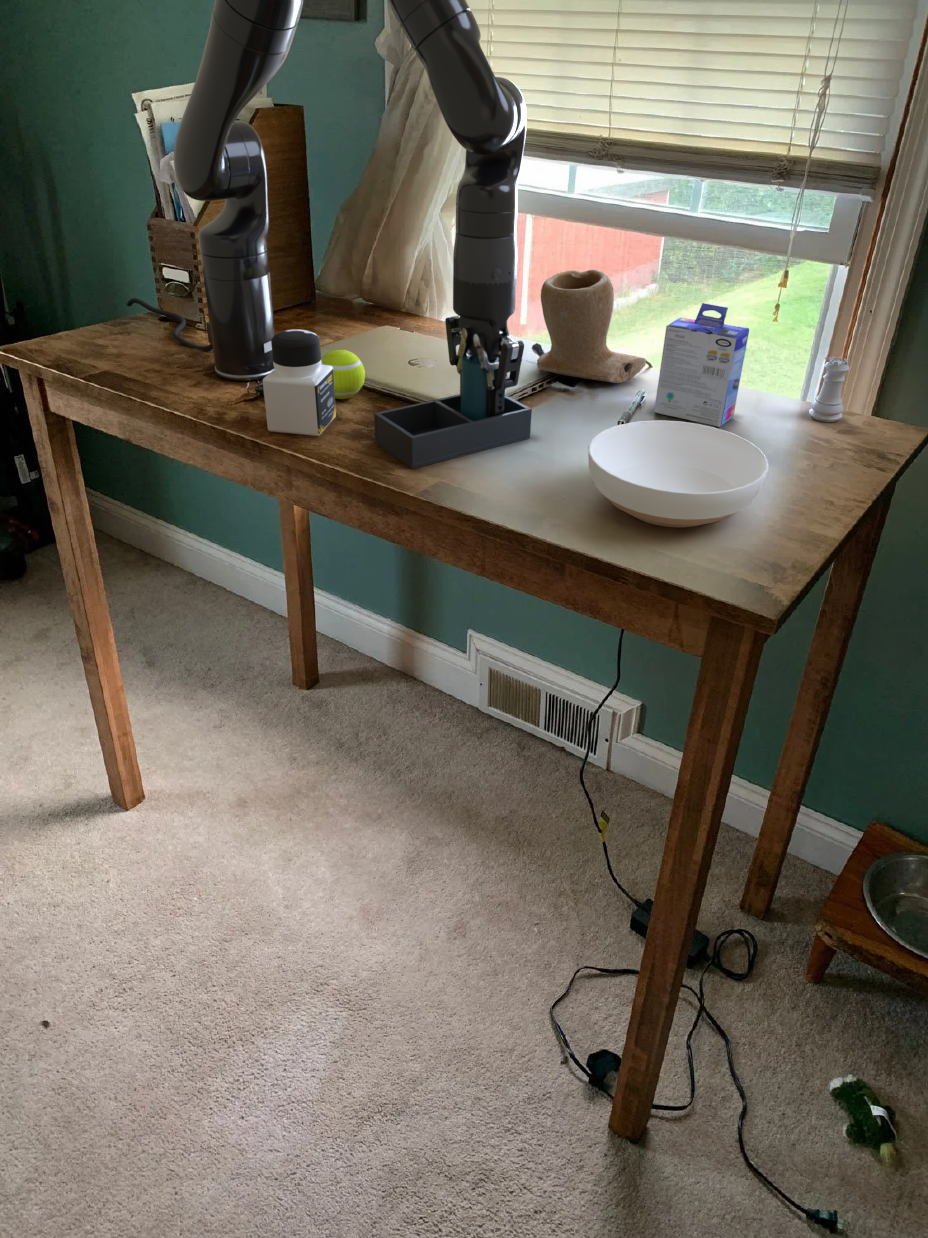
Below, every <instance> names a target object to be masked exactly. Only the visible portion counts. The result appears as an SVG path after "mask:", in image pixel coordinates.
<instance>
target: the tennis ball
mask: <svg viewBox="0 0 928 1238" xmlns="http://www.w3.org/2000/svg"><path fill="white" fill-rule="evenodd" d="M321 365H330V366H332V367H333V376H334V392H335V400H346V399H350V398H352V397H354V396H356V394H358V393H359V392H360V390H361V389H362V388H363V385H364V384H365V380H366V371H365V367H364V363H362V361H361V359H360V358H359V357H358V355H356V354H355V353H353V352H352V351H351V350H347V349H342V348H341V349H333V350H331V351H329V352H327V353H325V354H324V355H323V356H321Z"/></svg>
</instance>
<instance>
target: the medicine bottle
mask: <svg viewBox="0 0 928 1238" xmlns="http://www.w3.org/2000/svg"><path fill="white" fill-rule="evenodd" d="M275 334H276V335H274V336H273V338H272V340H271V344H272V354H273V364H274V368H275V369H274V370H273V371H271V372H270V373H269V374H268V375H267V376H266V377H265V378H263V379H262V388H263V399H264V408H265V416H266V425H267V427H266V428H267V430H268V432H272V433H281V434H291V435H302V436H311V437H312V436H313V437H319V436H320V435H321V434H322V433H323V432H324V431H325V430H326V429H327V427H328V426H329V425H330V424H331V423H332V421H334V419H335V418H336V417H337V410H336V409H337V408H336V398H335V392H334V376H333V367H332V366H330V365H321V359H322V352H321V351H322V350H321V339H320V336H318V335H317V333H315V332H313V331H310V330H306V329H300V328H299V329H286V330H283V331H280V332H278V333H275Z"/></svg>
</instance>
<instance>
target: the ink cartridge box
mask: <svg viewBox="0 0 928 1238" xmlns="http://www.w3.org/2000/svg"><path fill="white" fill-rule="evenodd" d="M728 309H729V307H728V306H720V305H716V304H710V303H705V302H702V303H701V306H700V308H699V311H698V313H697V314H696V315H697V316H696V317H695V319H693V318H687V317H678V318H677V319H675V320H673V321H672V322H670V323H669V324H667V325H666V327H665V333H664V340H663V348H662V353H661V361H660V368H659V376H658V383H657V390H656V395H655V403H654V409H653V412H654V413H656V414H659V415H665V416H668V417H669V416H670V417H673V418H677V419H683V420H687V421H692V422H694V423H695V422H696V423H699V424H703V425H708V426H712V427H717V428H721V427H722V426H723V425H724V424H726V423H728V421H730V420H732V419H733V418H734V416H735V410H736V404H737V400H738V399H737V398H738V394H739V387H740V382H741V377H742V373H743V367H744V362H745V356H746V350H747V345H748V340H749V335H750V334H749V333H750V328H749V327H746V326H745V327H744V326H739V325H732V324H725V320H726V318H727V313H728ZM708 311H714V312H716V313H718V314H720V317H715V316H709V315H704V313H705V312H708Z"/></svg>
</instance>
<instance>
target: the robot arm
mask: <svg viewBox="0 0 928 1238" xmlns="http://www.w3.org/2000/svg"><path fill="white" fill-rule="evenodd" d="M387 2H388V4H389V7H390V8H391V11H392V13H393V15H394V16H395V19H396V20H397V22H398V24H399V26H400V28H401V29H402V31H403V33H404V35H405V38H407V40H408V42H409V44H410V46H411V48H412V49H413V51H414V52H415V54H416V56H417V58H418V59H419V61H420V62H421V64H422V65H423V67H424V69H425V72H426V75H427V78H428V81H429V84H430V87H431V89H432V93H433V95H434V97H435V100H436V102H437V105H438V108H439V110H440V113H441V115H442V117H443V120H444V122H445V123H446V126H447V128H448V129H449V132H450V133H451V134H452V135H453V137H454V139H455V140H456V141H457V143H458V144H459V145H460V146H461V147H462V148H464V149H465V159H464V171H463V175H462V177H461V179H460V180H459V183H458V185H457V190H456V195H455V196H456V197H455V238H454V245H453V259H452V260H453V261H452V264H453V265H452V268H453V270H452V310H453V312H454V314H456V315H453V316H449V317H446V318H445V321H444V323H445V332H446V333H445V334H446V342H447V352H448V360H449V364H450V366H452V367H454V366H455V367H456V372H457V374H458V375H459V394H460V401H461V373H462V357H463V356H468V355H471V356H476V357H477V358H478V359H479V363H480V368H481V370H482V371H484V372H485V377H486V382H487V387H488V389H487V397H486V416H488V417H493V416H497V415H501V414H503V412H504V404H505V403H504V402H505V395H506V389H509V388H513V387H517V385H518V383H519V382H518V381H519V377H520V371H521V368H522V367H521V366H522V361H523V356H524V350H525V343H524V341H523V340H522V339H521V340H520V339H519V340H516V341H515V340H513V338H511V337H510V331H509V327H508V321H509V318H510V317H511V316H512V315H514V313H515V311H516V299H517V298H516V297H517V276H518V275H517V272H518V271H517V270H518V244H517V223H518V187H519V186H518V185H519V180H520V173H521V169H522V164H523V156H524V150H525V143H526V135H527V120H528V119H527V106H526V102H525V99H524V98H525V97H524V96H523V93H522V91H521V90H520V89H519V87H518V86H517V85H516V84H515V83H514V82H513V81H511V80H509V79H507V78H505V77H503V76H502V77H501V76H496V75H495V73H494V72H493V69H492V67H491V65H490V63H489V61H488V59H487V57H486V55H485V52H484V51H483V49H482V47H481V37H482V34H481V30H480V26H479V24H478V22H477V19H476V17H475V15H474V13H473V12H472V10H471V8H470V6H469V3H468V2H467V0H387ZM303 6H304V0H214V3H213V7H212V13H211V19H210V24H209V27H208V28H209V29H208V33H207V37H206V42H205V45H204V49H203V53H202V57H201V60H200V63H199V67H198V70H197V71H198V72H197V74H196V79H195V81H194V84H193V87H192V90H191V92H190V96H189V98H188V101H187V103H186V106H185V109H184V112H183V115H182V117H181V119H180V123H179V126H178V128H177V132H176V136H175V142H174V147H173V169H174V175H175V178H176V181H177V184H178V186H179V188H180V190H181V191H182V192H183V193H184V194H185V195H186V196H187V197H189V198H190V199H192V200H195V201H201V202H214V201H222V200H223V201H224V206H223V207H222V209H221V211H220V212H219V213H218V215H216V216H215V217H214V218H213V219H212V220H211V221H209V222H208V223H206V224H205V225H203V226H202V227H201V228H200V229H199V231H198V235H197V239H198V240H197V241H198V247H199V249H198V250H199V255H200V261H201V269H202V275H203V276H202V277H203V283H204V290H205V300H206V306H207V307H206V308H207V313H208V320H209V321H207V322H205V325H206V326H205V327H206V332H207V339H208V343H209V344H208V345H199V344H195V343H192V342H191V341H188V340H187V339H186V338H184V337H182V336H181V335H179V333H180V332H181V331H183V329H185V327H186V325H187V321H186V319H185V318H184V317H183V316H182V315H180V314H178V313H175V312H171V311H168V310H163V309H160V308H156V307H154V306H152V305H151V304H149V303H147V302H146V301H144V300H142V299H140V298H138V297H132V298H130V299H128V301H127V302H126V307H132V306H133V304H137V305H140V306H141V307H143V308H144V309H146V310H149V311H150V312H151V313H155V314H158V315H160V316H164V317H169V318H172V319H175V320H177V321H179V322H180V323H179V324H178V325H177V326H176V327H175V328H174V330H173V331H172V337H173V338H174V340H175V341H177V342H178V343H180V344H181V345H183V346H185V347H188V348H191V349H196V350H200V351H204V352H205V351H206V352H210V351H213V352H212V354H213V359H214V372H215V374H216V375H217V376H218V377H220V378H222V379H225V380H231V381H239V382H241V381H242V382H243V381H245V382H246V381H247V382H248V381H256V380H263V379H264V378H265V377H266V376H267V375H268V374H269V373H270V372H271V371H273V370H274V369H275V368H274V364H273V354H272V344H271V340H272V338H273V336H274V335H276V334H277V333H276V325H275V315H274V306H273V305H274V304H273V293H272V283H271V274H270V273H271V272H270V263H269V255H268V254H269V253H268V244H267V243H268V240H267V238H268V234H269V227H270V217H269V216H270V214H269V198H268V173H267V172H268V171H267V163H266V155H265V151H264V147H263V144H262V140H261V138H260V136H259V134H258V133H257V131H256V130H255V128H254V127H253V126H252V125H251V124H250V123H248V122H247V121H244V120H237V118H238V116H239V115H240V113H241V112H242V111H243V110H244V108H246V107H247V105H248V104H249V103H250V102H251V101H252V100H253V99H254V98H255V97H256V95H258V94H259V93H260V92H261V91H262V90H263V88H265V86H266V85H267V84H268V83H269V82H270V80H272V79H273V77H274V76H275V75H276V74H277V72H278V71H279V70H280V68H281V67H282V65H283V64H284V62H285V61H286V59H287V57H288V54H289V52H290V49H291V47H292V44H293V40H294V37H295V35H296V32H297V28H298V25H299V22H300V19H301V15H302V10H303ZM457 346H458V349H457ZM497 357H499V360H498V362H496V363H489V362H488V360H492V359H496V358H497ZM494 369H498V372H497V378H496V379H494V373H493V370H494ZM508 373H509V375H508Z"/></svg>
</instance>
